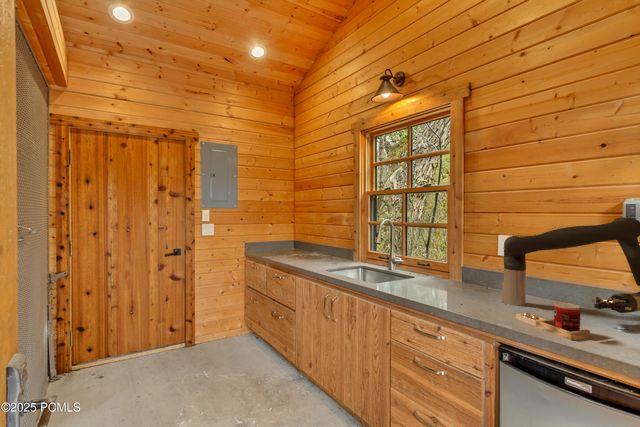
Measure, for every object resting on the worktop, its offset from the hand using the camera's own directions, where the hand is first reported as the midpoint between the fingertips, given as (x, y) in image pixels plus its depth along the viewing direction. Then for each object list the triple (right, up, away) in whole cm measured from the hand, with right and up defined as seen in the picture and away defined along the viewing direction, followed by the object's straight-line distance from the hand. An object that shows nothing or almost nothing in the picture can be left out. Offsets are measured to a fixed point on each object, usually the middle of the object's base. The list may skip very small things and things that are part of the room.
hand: (596, 305), depth 130 cm
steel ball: (-22, -8, +8) cm, 25 cm away
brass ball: (-21, -8, +4) cm, 23 cm away
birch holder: (-17, -9, -5) cm, 20 cm away
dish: (-22, -9, +6) cm, 24 cm away
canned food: (-16, -9, -6) cm, 20 cm away
